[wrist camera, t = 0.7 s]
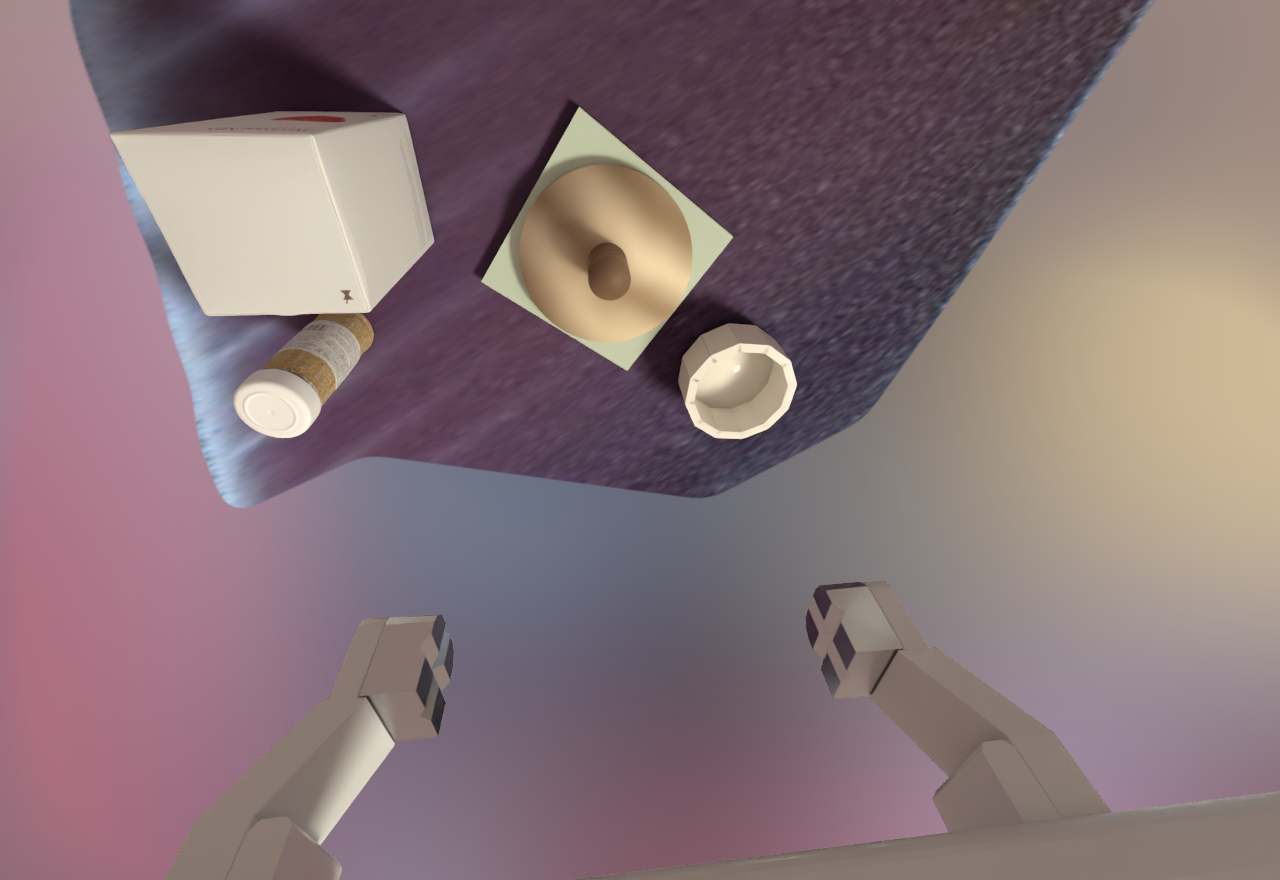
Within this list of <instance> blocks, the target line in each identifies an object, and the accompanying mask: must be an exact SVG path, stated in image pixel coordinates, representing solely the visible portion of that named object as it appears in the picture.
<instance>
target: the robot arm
mask: <svg viewBox="0 0 1280 880" xmlns="http://www.w3.org/2000/svg"><path fill="white" fill-rule="evenodd" d="M813 597H814V599H815V603H814V604H813V605H811V606H810V607H809V608H808V611H807V614H806V631H807V635H808V638H809V642H810V644H811V647H812V649H813V650H814V651H815V652H816V653H817V654H818V655H820V656H821V657H822V658H823V662H822V665H821V671H822V674H823V676H824V678H825V681H826V683H827V686H828V688H829V690H830V693H831V695H832V697H833V699H834V698H849V697H864V696H871V699H872V700H873V702H874V703H875V704H876V705H877V706H879V707H880V709H882V711H883V712H885V713H886V715H888V716H889V717H890V719H891V720H892V721H893V722H895V723H896V725H898V726H899V727H900V728H901V729H902V730H903V731H904V732H905V733H906V734H907V735H908V736H909V737H910V738H911V739H912V740H913V741H914V742H915V743H916V744H917V745H918V746H919V747H920V748H921V749H922V750H923V751H924V752H925V753H926V754H927V755H928V756H929V757H930V758H931V759H932V760H933V761H934V762H935V763H936V764H937V765H938V766H939V767H940V768H941V769H942V770H943V771H944V772H945V773H946V774H947V775H948V776H949V778H948V779H947V780H946V781H945V782H944V783H943V784H942V785H941V786H940V787H939V788H938V789H937V790H936V792H935V794H934V797H933V801H934V803H935V805H936V807H937V809H938V811H939V813H940V815H941V817H942V819H943V821H944V824H945V825H946V827H947V830H948V832H949V833H941V834H934V835H925V836H917V837H910V838H901V839H893V840H885V841H877V842H869V843H862V844H854V845H845V846H837V847H829V848H821V849H813V850H805V851H797V852H789V853H781V854H773V855H765V856H757V857H749V858H741V859H732V860H724V861H716V862H709V863H700V864H692V865H685V866H676V867H669V868H660V869H653V870H645V871H636V872H628V873H620V874H613V875H604V876H597V877H588V878H580V879H572V880H1280V792H1270V793H1262V794H1254V795H1246V796H1238V797H1230V798H1222V799H1214V800H1206V801H1198V802H1191V803H1183V804H1174V805H1167V806H1158V807H1150V808H1142V809H1134V810H1126V811H1118V812H1111V811H1110V809H1109V808H1108V807H1107V805H1106V804H1105V802H1104V801H1103V800H1102V798H1101V797H1100V795H1099V794H1098V793H1097V791H1096V790H1095V789H1094V787H1093V786H1092V784H1091V783H1090V782H1089V780H1088V779H1087V777H1086V776H1085V775H1084V773H1083V772H1082V771H1081V769H1080V768H1079V767H1078V765H1077V764H1076V762H1075V761H1074V760H1073V758H1072V757H1071V755H1070V754H1069V753H1068V751H1067V750H1066V749H1065V747H1064V746H1063V744H1062V743H1061V742H1060V740H1059V739H1058V737H1057V736H1056V735H1055V733H1054V732H1052V731H1051V730H1050V729H1048V728H1047V727H1045V726H1044V725H1043V724H1041V723H1040V722H1039V721H1037V720H1036V719H1034V718H1033V717H1032V716H1030V715H1029V714H1027V713H1026V712H1025V711H1023V710H1022V709H1020V708H1019V707H1018V706H1016V705H1015V704H1014V703H1012V702H1011V701H1009V700H1008V699H1007V698H1005V697H1004V696H1002V695H1001V694H1000V693H998V692H997V691H995V690H994V689H993V688H991V687H990V686H988V685H987V684H986V683H984V682H982V680H980V679H979V678H977V677H976V676H975V675H973V674H972V673H970V672H969V671H968V670H966V669H965V668H963V667H962V666H961V665H959V664H958V663H957V662H955V661H954V660H952V659H951V658H949V657H948V656H947V655H945V654H944V653H943V652H941V651H940V650H938V649H937V648H936V647H928V645H927V644H926V642H925V641H924V639H923V637H922V636H921V634H920V633H919V631H918V629H917V628H916V626H915V625H914V623H913V622H912V620H911V618H910V617H909V615H908V614H907V612H906V610H905V609H904V607H903V605H902V604H901V602H900V601H899V599H898V597H897V596H896V594H895V593H894V591H893V589H892V588H891V586H890V585H889V584H888V583H887V582H885V581H873V582H863V583H861V582H854V583H843V584H833V585H822V586H818V587H817V588H816V589H815V591H814V594H813ZM445 625H446V623H445V620H444V618H443V616H442V614H439V615H424V616H423V615H422V616H407V617H386V618H373V619H364V620H363V621H362V623H361V624H360V625H359V626H358V628H357V630H356V632H355V635H354V637H353V640H352V642H351V645H350V647H349V650H348V652H347V655H346V657H345V659H344V662H343V664H342V667H341V669H340V672H339V675H338V677H337V679H336V682H335V684H334V687H333V689H332V692H331V694H330V697H329V699H328V700H325V701H320V702H319V703H318V704H316V706H314V707H313V708H312V709H311V710H310V711H309V712H308V713H307V714H306V715H305V716H304V717H303V718H302V719H301V720H300V721H299V722H298V723H297V724H296V725H295V726H294V727H293V728H292V729H291V730H290V731H289V732H287V733H286V734H285V736H283V738H281V739H280V740H279V741H278V742H277V743H276V744H275V745H274V746H273V747H272V748H271V749H270V750H269V751H268V752H267V753H266V754H265V755H264V756H263V757H262V758H261V759H260V760H259V761H258V762H257V763H256V764H254V765H253V766H252V767H251V768H250V769H249V770H248V771H247V772H246V773H245V774H244V775H243V776H242V777H241V778H240V779H239V780H238V781H237V782H236V783H235V784H234V785H233V786H232V787H231V788H229V790H227V791H226V792H225V793H224V794H223V795H222V796H221V797H220V798H219V799H218V800H217V801H216V802H215V803H214V804H213V805H212V806H211V807H210V808H209V809H208V810H207V811H206V812H205V813H204V814H203V815H201V816H200V817H199V818H198V819H197V820H196V821H195V822H194V823H193V825H192V827H191V829H190V831H189V833H188V835H187V836H186V839H185V840H184V842H183V844H182V846H181V848H180V850H179V852H178V854H177V856H176V857H175V860H174V861H173V863H172V865H171V867H170V869H169V871H168V873H167V875H166V877H165V879H164V880H339V878H340V874H341V871H342V868H341V866H340V864H339V862H338V860H336V859H335V858H334V857H333V856H332V855H331V854H330V853H328V852H327V851H326V850H325V849H324V848H323V847H321V846H320V845H321V843H322V842H323V841H324V839H325V838H326V837H327V835H328V834H329V833H330V831H331V830H332V828H333V827H334V826H335V824H336V823H337V822H338V820H339V819H340V818H341V816H342V815H343V814H344V812H345V811H346V810H347V808H348V807H349V805H350V804H351V803H352V802H353V800H354V799H355V798H356V796H357V795H358V794H359V792H360V791H361V790H362V788H363V787H364V786H365V784H366V783H367V781H368V780H369V779H370V778H371V776H372V774H373V773H374V772H375V771H376V769H377V768H378V767H379V765H380V764H381V763H382V761H383V760H384V759H385V757H386V756H387V755H388V753H389V752H390V750H391V749H392V748H393V747H394V745H395V743H394V742H397V741H405V740H413V739H421V738H429V737H438V736H439V731H440V727H441V722H442V718H443V713H444V708H445V704H446V702H445V700H444V697H443V695H442V692H441V691H442V690H443V689H444V687H445V686H446V685H447V684H448V683H449V682H450V680H451V675H452V670H453V660H454V649H453V642H452V639H451V636H450V635H448V634H446V633H445V632H444V629H445Z"/></svg>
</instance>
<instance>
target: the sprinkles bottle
mask: <svg viewBox="0 0 1280 880" xmlns="http://www.w3.org/2000/svg"><path fill="white" fill-rule="evenodd" d="M373 337H374V333H373V329H372V326H371V324H370V323H369V321H368V320H367V319H366V317H365V316H364V315H363V314H361V313H322V314H319V315H318V316H317V318H316V319H315V320H314V321H313V322H311V323H309V324H308V325H307V326H305V327H304V328H303V329H302V330H301V331H300V332H299V333H298V334H297V335H296V336H295V337H293V338H292V339H291V340H290V341H289V342H288V343H287V344H286V345H285V346H284V347H283V348H282V349H281V350H279V351H278V352H277V353H276V354H275V355H274V357H273V359H272V360H271V361H270V362H269V363H268V364H267V365H265V366H264V367H263V368H262V369H260V370H258V371H256V372H255V373H253V374H251V375H250V376H249V377H248V378H247V379H246V380H245V381H244V382H243V383H242V384H241V385H240V386H239V387H238V388H237V390H236V391H235V393H234V397H233V404H234V408H235V410H236V412H237V414H238V415H239V417H240V418H241V419H242V420H243V421H244V422H245V423H246V424H247V425H248V426H250V427H251V428H253V429H254V430H256V431H258V432H260V433H262V434H265V435H268V436H272V437H277V438H290V437H295V436H298V435H300V434H302V433H304V432H305V431H306V430H307V429H308V428H309V427H310V426H311V424H312V423H313V422H314V421H315V419H316V418H317V417H318V415H319V413H320V410H321V407H322V405H323V404H324V403H325V402H326V400H327V399H328V398H329V396H330V395H331V394H332V393H333V391H334V390H336V388H337V387H338V386H339V385H340V383H341V382H342V381H343V380H344V379H345V378H346V376H347V375H348V374H349V372H350V371H351V370H352V368H353V367H354V366H355V364H356V363H357V362H358V360H359V358H360V356H361V355H362V354H363V352H364V351H366V350H367V349H368V348H369V347H370V345H371V344H372V342H373Z"/></svg>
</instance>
